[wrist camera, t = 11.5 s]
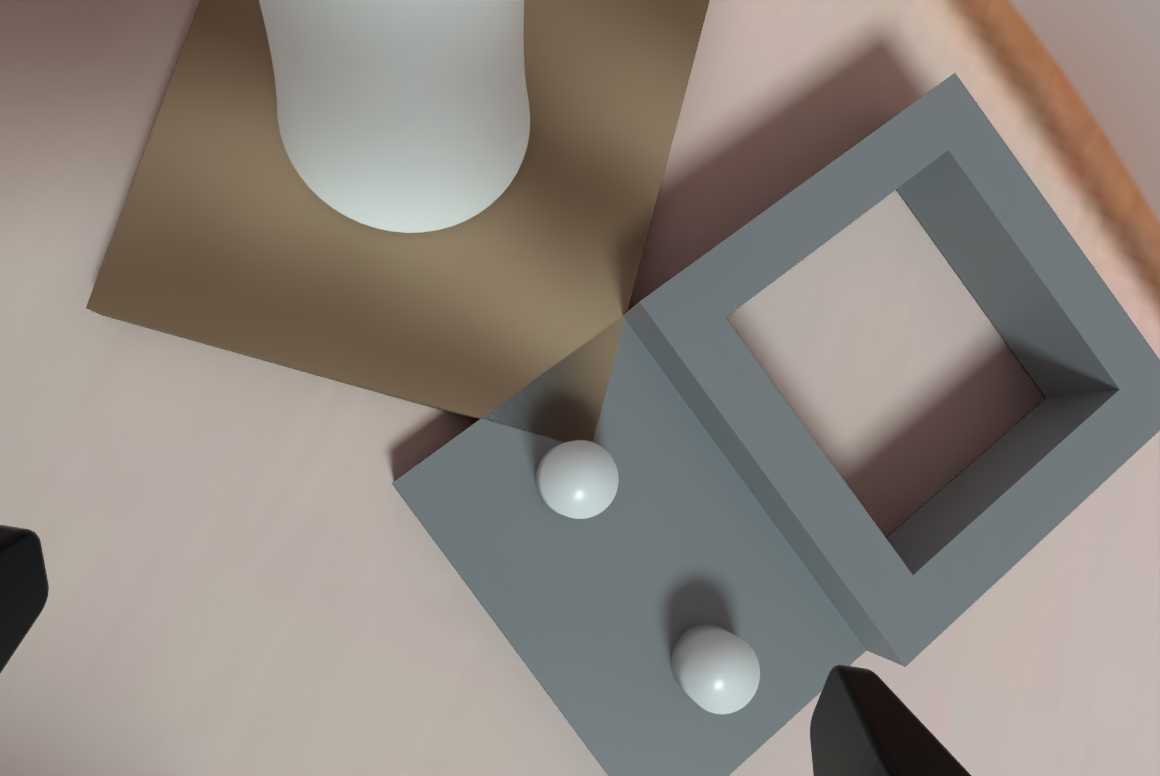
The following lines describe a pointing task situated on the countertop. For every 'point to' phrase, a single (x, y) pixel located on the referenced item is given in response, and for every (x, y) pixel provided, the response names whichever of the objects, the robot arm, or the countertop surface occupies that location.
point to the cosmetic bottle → (401, 104)
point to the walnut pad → (411, 260)
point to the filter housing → (780, 471)
